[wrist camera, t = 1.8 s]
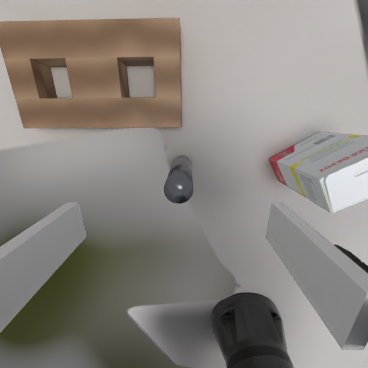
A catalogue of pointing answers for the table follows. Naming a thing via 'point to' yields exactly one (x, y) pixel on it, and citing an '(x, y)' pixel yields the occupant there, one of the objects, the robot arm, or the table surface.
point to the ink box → (326, 169)
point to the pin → (179, 181)
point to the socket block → (94, 71)
